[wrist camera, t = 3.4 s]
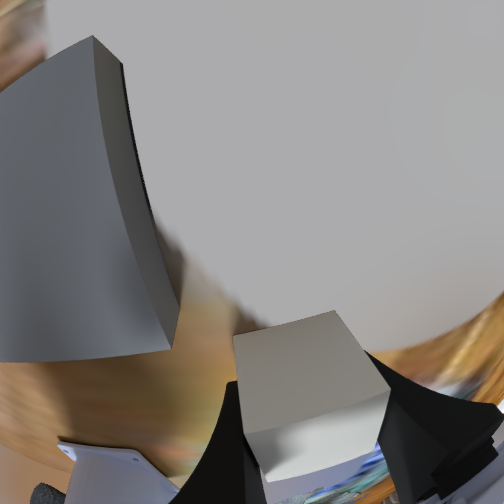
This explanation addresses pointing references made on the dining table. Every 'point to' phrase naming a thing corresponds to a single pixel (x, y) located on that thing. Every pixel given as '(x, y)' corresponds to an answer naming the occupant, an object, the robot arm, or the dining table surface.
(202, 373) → the dining table surface
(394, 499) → the egg carton
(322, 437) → the cream block
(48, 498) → the koala plush
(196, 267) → the dining table surface
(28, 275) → the slate slab
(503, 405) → the champagne flute
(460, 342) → the dining table surface
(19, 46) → the dining table surface
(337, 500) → the stuffed giraffe
